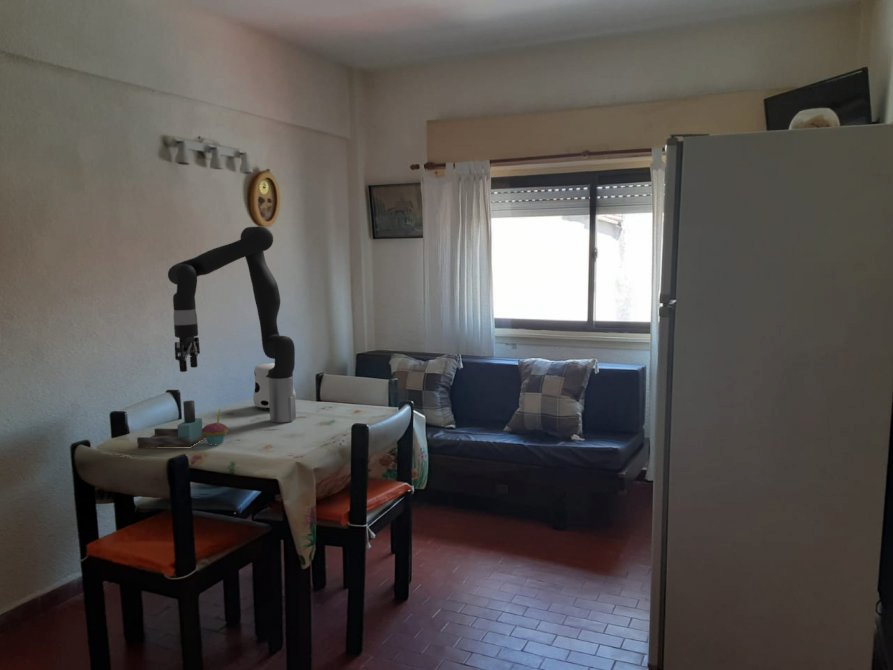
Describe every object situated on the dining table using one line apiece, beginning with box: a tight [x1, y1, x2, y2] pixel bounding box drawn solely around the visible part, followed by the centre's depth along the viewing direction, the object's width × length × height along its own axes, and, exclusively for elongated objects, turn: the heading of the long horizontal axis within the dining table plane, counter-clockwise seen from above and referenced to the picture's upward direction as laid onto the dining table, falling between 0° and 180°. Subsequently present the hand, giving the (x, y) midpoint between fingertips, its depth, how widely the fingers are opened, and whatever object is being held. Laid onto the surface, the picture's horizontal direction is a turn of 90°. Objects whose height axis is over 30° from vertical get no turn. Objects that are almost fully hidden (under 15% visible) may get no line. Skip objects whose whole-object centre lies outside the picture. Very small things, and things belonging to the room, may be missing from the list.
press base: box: [136, 427, 206, 449], centre depth 226 cm, size 18×13×4 cm
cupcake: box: [202, 409, 229, 446], centre depth 225 cm, size 9×8×12 cm
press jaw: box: [177, 400, 203, 442], centre depth 225 cm, size 4×10×13 cm, turn 177°
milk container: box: [252, 362, 296, 411], centre depth 279 cm, size 17×17×18 cm
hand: (188, 369), depth 228 cm, fingers open, 8 cm apart
